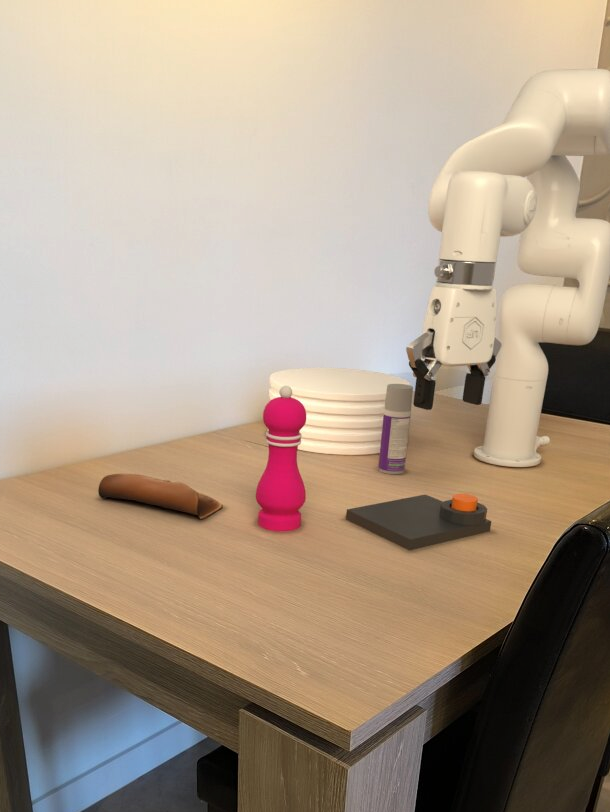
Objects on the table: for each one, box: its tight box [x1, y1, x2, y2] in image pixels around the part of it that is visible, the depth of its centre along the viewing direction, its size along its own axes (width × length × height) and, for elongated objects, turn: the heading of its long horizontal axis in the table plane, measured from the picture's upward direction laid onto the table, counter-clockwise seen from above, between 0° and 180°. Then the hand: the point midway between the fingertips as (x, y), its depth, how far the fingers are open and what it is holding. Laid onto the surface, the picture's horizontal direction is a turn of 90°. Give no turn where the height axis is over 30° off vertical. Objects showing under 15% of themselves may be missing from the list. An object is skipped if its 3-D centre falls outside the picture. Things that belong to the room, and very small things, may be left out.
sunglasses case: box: [97, 473, 223, 520], centre depth 126 cm, size 18×7×7 cm, turn 64°
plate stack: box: [267, 367, 411, 456], centre depth 167 cm, size 28×28×12 cm
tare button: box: [451, 493, 479, 511], centre depth 121 cm, size 4×4×2 cm
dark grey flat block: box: [345, 494, 492, 551], centre depth 122 cm, size 16×14×4 cm
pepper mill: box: [255, 386, 307, 532], centre depth 116 cm, size 7×7×20 cm
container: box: [377, 384, 414, 475], centre depth 145 cm, size 5×5×15 cm
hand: (447, 405), depth 117 cm, fingers open, 9 cm apart
